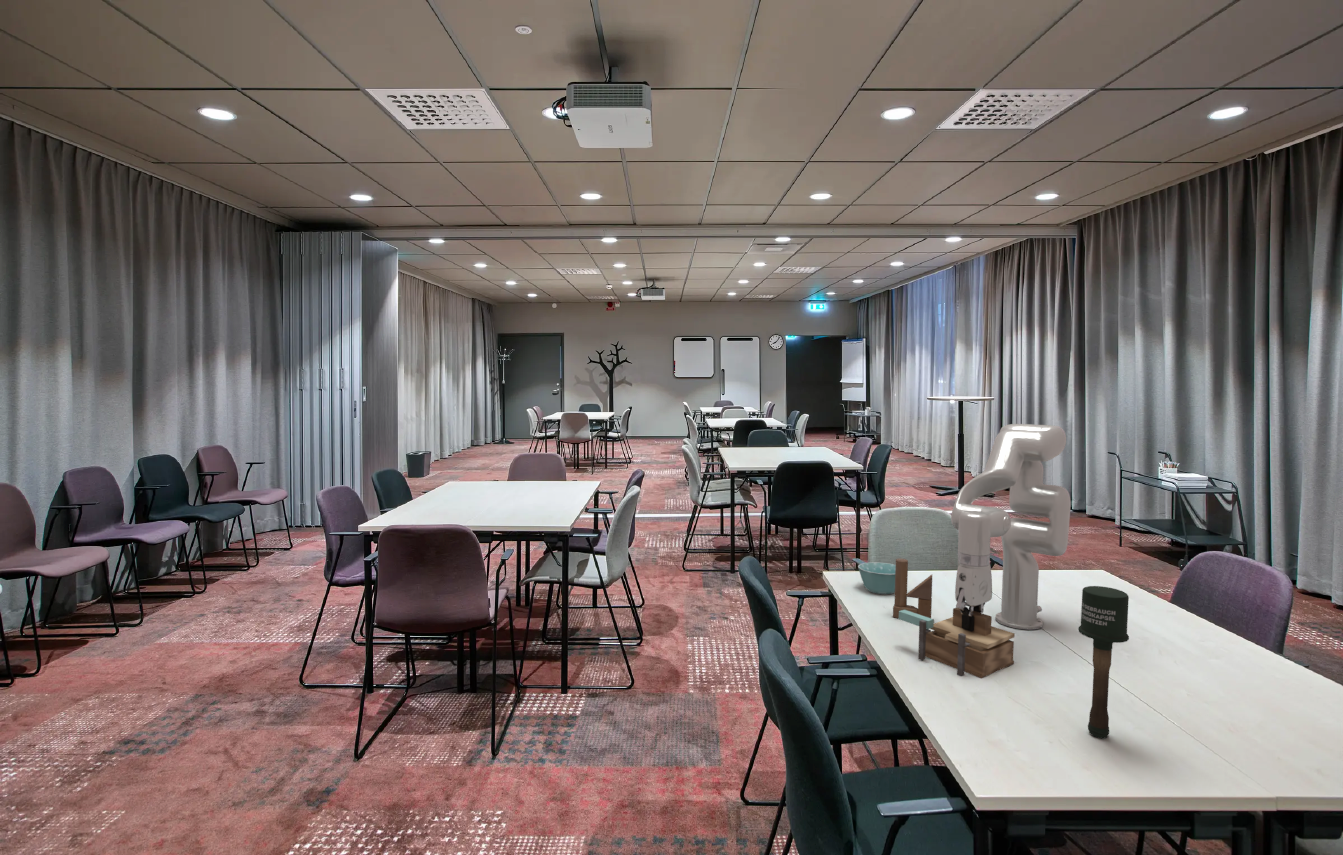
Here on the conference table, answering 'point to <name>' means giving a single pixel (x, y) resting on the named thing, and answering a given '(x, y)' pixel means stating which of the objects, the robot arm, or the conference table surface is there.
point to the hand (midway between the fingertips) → (971, 627)
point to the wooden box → (964, 653)
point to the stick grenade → (1102, 645)
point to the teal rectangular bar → (915, 618)
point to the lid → (978, 638)
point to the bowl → (878, 577)
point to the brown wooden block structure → (911, 592)
